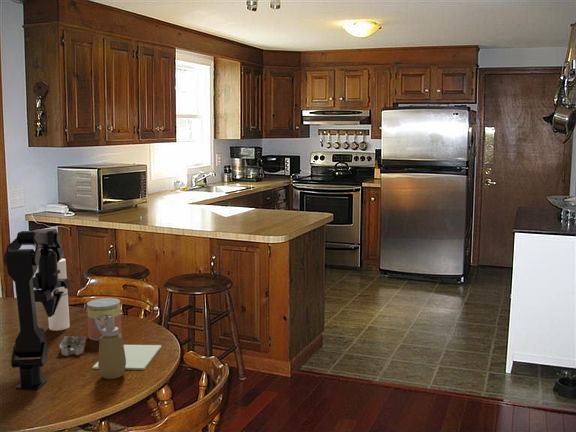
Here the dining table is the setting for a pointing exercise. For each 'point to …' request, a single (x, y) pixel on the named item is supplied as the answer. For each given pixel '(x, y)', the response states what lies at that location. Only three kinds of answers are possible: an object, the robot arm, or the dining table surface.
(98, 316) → the canned food
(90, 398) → the dining table surface
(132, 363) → the mat
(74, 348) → the egg carton
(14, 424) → the dining table surface
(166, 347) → the dining table surface
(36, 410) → the dining table surface
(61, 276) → the cylindrical container
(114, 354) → the tan nozzle bottle
